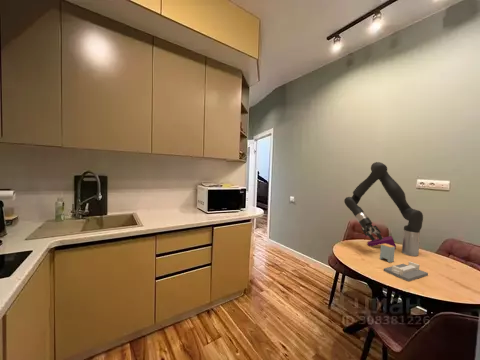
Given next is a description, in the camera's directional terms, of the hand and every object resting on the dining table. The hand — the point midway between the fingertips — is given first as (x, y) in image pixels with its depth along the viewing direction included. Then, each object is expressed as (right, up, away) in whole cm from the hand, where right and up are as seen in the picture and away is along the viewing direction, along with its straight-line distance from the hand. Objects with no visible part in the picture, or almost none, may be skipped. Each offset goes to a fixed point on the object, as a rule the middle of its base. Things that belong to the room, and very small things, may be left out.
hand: (377, 239), depth 150 cm
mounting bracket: (+15, -12, +21) cm, 29 cm away
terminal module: (+2, -12, -6) cm, 14 cm away
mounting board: (+1, -13, -24) cm, 27 cm away
